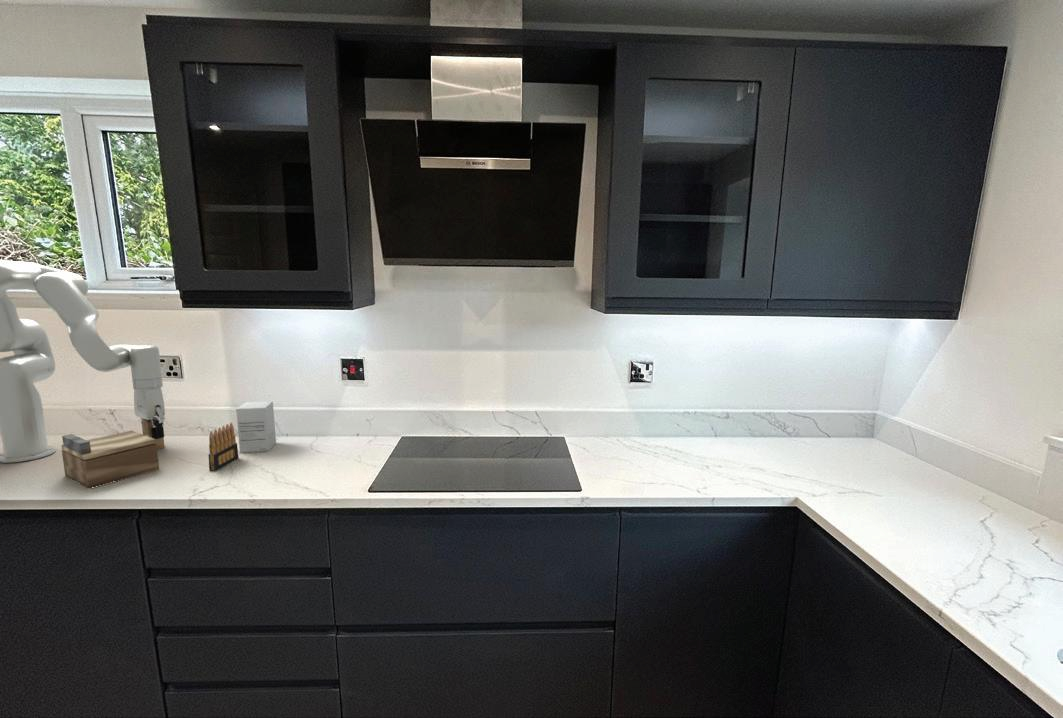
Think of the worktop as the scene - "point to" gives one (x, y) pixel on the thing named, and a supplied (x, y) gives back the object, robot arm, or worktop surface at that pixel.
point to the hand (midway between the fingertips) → (153, 436)
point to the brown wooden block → (147, 432)
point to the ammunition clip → (222, 448)
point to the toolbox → (111, 466)
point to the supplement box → (256, 426)
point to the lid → (104, 444)
